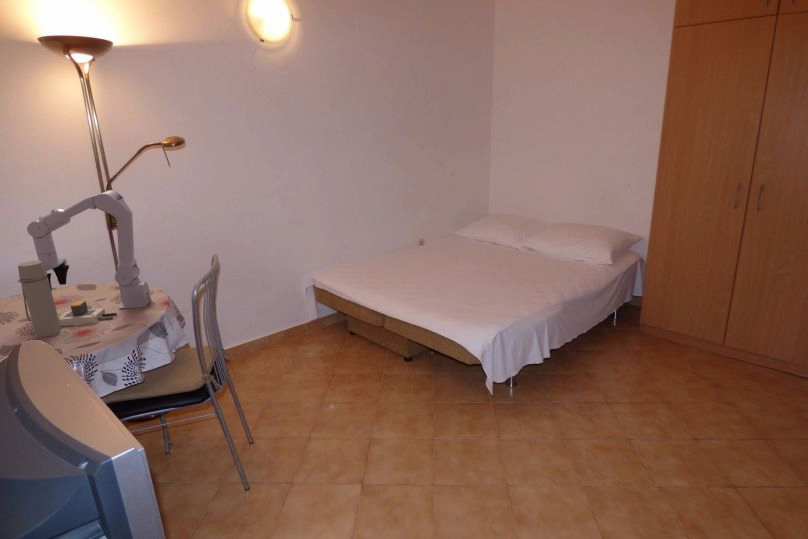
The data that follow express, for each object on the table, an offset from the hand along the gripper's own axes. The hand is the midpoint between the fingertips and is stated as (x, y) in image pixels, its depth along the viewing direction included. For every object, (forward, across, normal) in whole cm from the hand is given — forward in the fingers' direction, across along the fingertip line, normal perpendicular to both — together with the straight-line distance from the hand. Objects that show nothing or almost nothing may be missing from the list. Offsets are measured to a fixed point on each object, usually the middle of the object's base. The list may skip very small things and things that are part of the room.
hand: (55, 287), depth 181 cm
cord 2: (+10, +5, +21) cm, 24 cm away
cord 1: (+10, +8, +22) cm, 25 cm away
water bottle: (+10, +20, +9) cm, 24 cm away
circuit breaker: (+10, +8, +13) cm, 19 cm away
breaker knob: (+7, +8, +13) cm, 17 cm away
